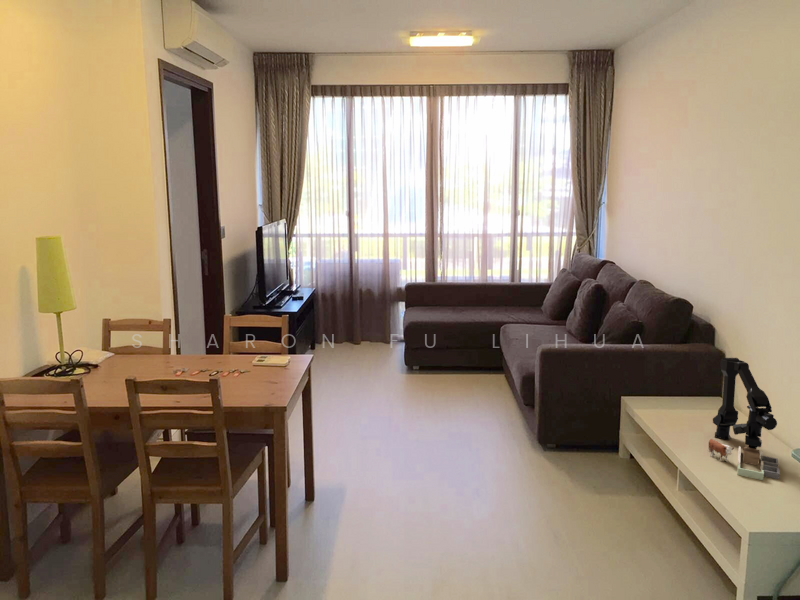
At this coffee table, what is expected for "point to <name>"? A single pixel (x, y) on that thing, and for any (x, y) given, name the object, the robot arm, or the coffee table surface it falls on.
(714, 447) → the bull figurine
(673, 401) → the coffee table surface
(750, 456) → the walnut block
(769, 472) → the trap pen
